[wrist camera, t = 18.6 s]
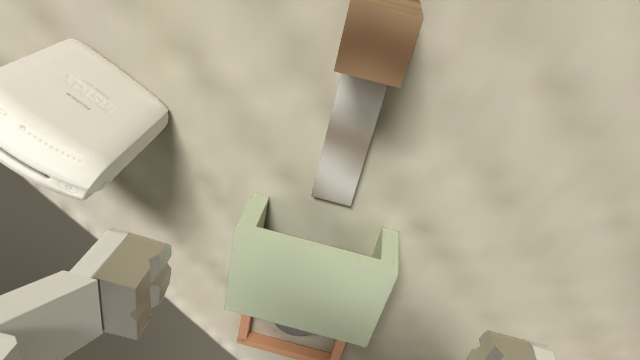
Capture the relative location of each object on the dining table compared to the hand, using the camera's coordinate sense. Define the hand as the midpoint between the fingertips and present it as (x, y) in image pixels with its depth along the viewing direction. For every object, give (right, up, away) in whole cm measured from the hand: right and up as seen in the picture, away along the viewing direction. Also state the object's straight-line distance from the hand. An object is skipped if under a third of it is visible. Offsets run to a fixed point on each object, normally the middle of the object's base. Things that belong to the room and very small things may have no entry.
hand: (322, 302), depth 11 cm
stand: (-1, -4, +32) cm, 33 cm away
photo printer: (-17, +11, +26) cm, 33 cm away
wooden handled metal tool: (+3, +9, +24) cm, 25 cm away
